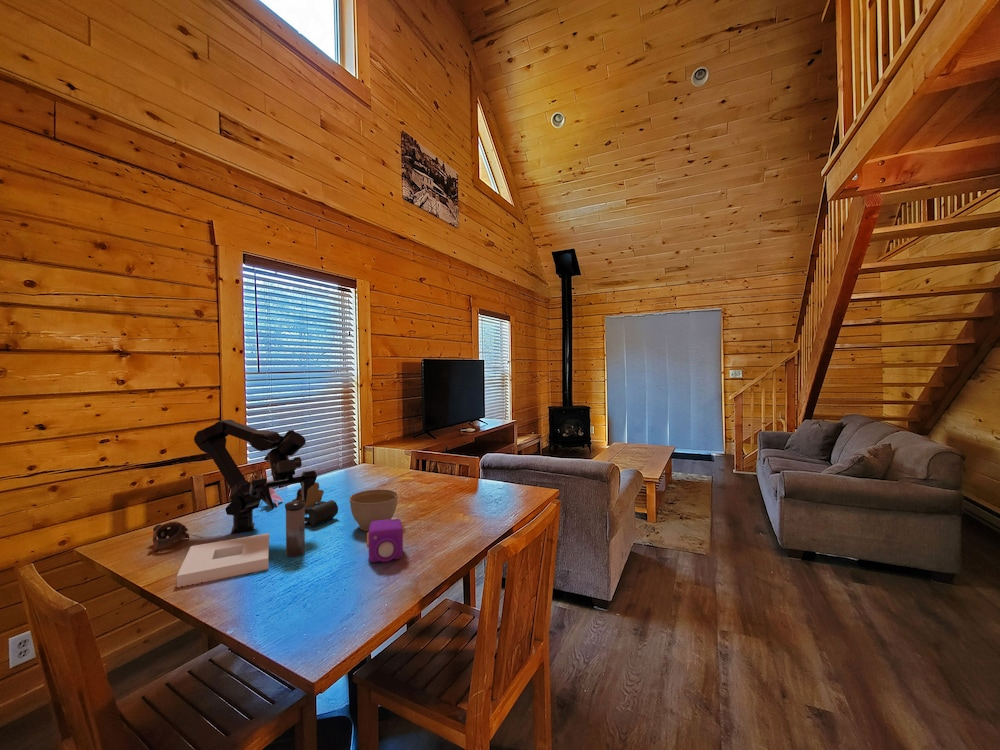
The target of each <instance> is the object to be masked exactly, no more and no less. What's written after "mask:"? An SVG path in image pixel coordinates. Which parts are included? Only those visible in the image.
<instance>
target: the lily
mask: <svg viewBox="0 0 1000 750" xmlns="http://www.w3.org/2000/svg"><path fill="white" fill-rule="evenodd" d="M269 492H270V495H271V498H272V501H273V503H275V505H276V506H277V507H279V503H278V502H279V501H280V502H282V503H284V500H283V498H282V497H281V496H280V495H279V494H277V491H276V490H275V489H274V488H273V487H272V488H269ZM263 503H264V501H263V500H261V501H260V504H259V507H261V506H262V504H263ZM259 507H258V508H259Z"/></svg>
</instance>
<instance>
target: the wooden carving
mask: <svg viewBox="0 0 1000 750" xmlns="http://www.w3.org/2000/svg"><path fill="white" fill-rule="evenodd" d="M324 493H325V491H324V490H323V489H320V484H319V482H316V481H315V483H314V485H313V486H311V487H310V488H309V489H308V492H307V499H306V503H305V507H307V506H316V505H317V504H316V503H318V502H320V501H322V499H323V495H324ZM292 501H303V498H302V493H301V487H300V488H298V489H297V491H296V497H295V498H294V499H292V500H291V502H292Z"/></svg>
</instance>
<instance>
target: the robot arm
mask: <svg viewBox="0 0 1000 750" xmlns="http://www.w3.org/2000/svg"><path fill="white" fill-rule="evenodd" d="M228 436H231V437H235V438H238V439H239V440H243V441H245V442H247V443H249V444H250V446H251V448H253V449H255V450H257V451H259V452H265V451H269V452H267V455H265V457H264V459H263V461H268V463H269V466H270V467H269V468H270V471H271V472H270V473H271V477H272V480H269V481H268V480H267V478H266V477H262V478H260V477H259V478H256V479H252V480H251V481H248V480H246V477H245V476H244V475H243V473H242V472H241V470H240V468H239V466H238V465H237V464H236V462H235V460H234V458H232V455H231V453H230V452H229V451H228V449H227V437H228ZM193 437H194V438H193V441H194V444H195V445H196V447H198V449H200V451H202V452H203V453H206V454H208V456H209V455H210V457H211V459H212V461H213V462H214V463H215V465H216V467H217V469H218V471H220V473H221V475H222V477H223V478H224V480H225V482H226V483H227V485H228V486H229V488H230V494H229V498H230V502H229V503H228V505H227V506H226V508H225V512H226V515H227V516H232V523H233V524H232V528H231V531H230V533H231V534H237V533H243V532H249V531H254V530H255V525H256V524H255V522H254V519H253V518H254V514H253V512H254V511H253V510H256V509H258V508H259V506H260V504H261V502H262V501H263V503H265V505H267V506H268V508H269V509H270V510H271V511H274V509H275V508H274V501H273V500H272V498H271V495H270V492H269V488H272V489H273V488H276V487H283V486H289V485H294V484H295V485H296V484H300V488H301V493H302V498H303V501H305V503H306V499H307V492H308V489H309V488H310V487H311V486H313V485H314V483H315V482H316V481H317V478H318V474H317V471H315V470H313V469H312V470H306V471H302V473H301V475H300V476H296V477H295V474H296V470H297V469H299V468H301V467H302V465H303V464H302V459H301V456H297V457H294V458H293V459H290V458H289V457H293V456H294V455H296V453H298V451H300V450H301V449H302V448H303V447H304V446H305V445H306V444H307V443H306V439H305V437H304V436H303V435H302V434H300V433H299V432H296V431H295V430H294V429H292V430H288V431H286V433H285V434H284V435H280V433H279V432H277V431H273V430H261V429H256V428H253V427H250V426H248V425H245V424H241V423H239V422H237V421H235V420H233V419H222V420H219V421H217V422H215V423H214V424H212V425H209V426H207V427H205V428H203V429H201V430H198V431H197V432H196V433H195V435H194V436H193Z"/></svg>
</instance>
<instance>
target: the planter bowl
mask: <svg viewBox="0 0 1000 750" xmlns="http://www.w3.org/2000/svg"><path fill="white" fill-rule="evenodd" d="M398 497H399V493H398V492H397V491H394V490H391V489H384V488H383V489H367V490H361V491H359V492H355V493H354V494H352V495H351V496H350V497H349V503H350V510H351V514H352V516H353V518H354V521H355V522H356V523H357V524H358V526H359V529H360V530H361V531H364V532H369V525H370V523H371V522H373V521H377V520H387V519H391V518H393V517H394V514H395V512H396V510H397V505H398Z"/></svg>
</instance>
